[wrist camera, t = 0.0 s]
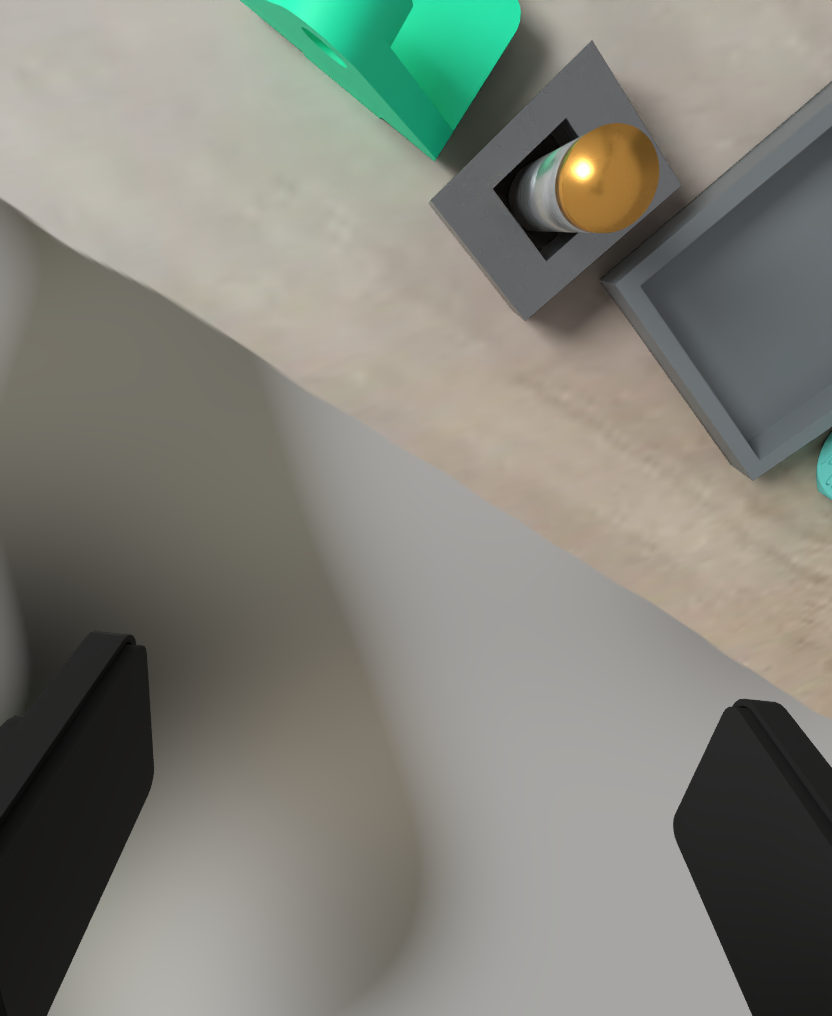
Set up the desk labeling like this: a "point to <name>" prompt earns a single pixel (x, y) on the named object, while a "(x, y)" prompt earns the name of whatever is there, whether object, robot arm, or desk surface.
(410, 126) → the green mounting bracket
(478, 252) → the block
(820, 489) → the decorative dice
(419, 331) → the desk surface
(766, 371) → the tray
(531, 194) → the pin
